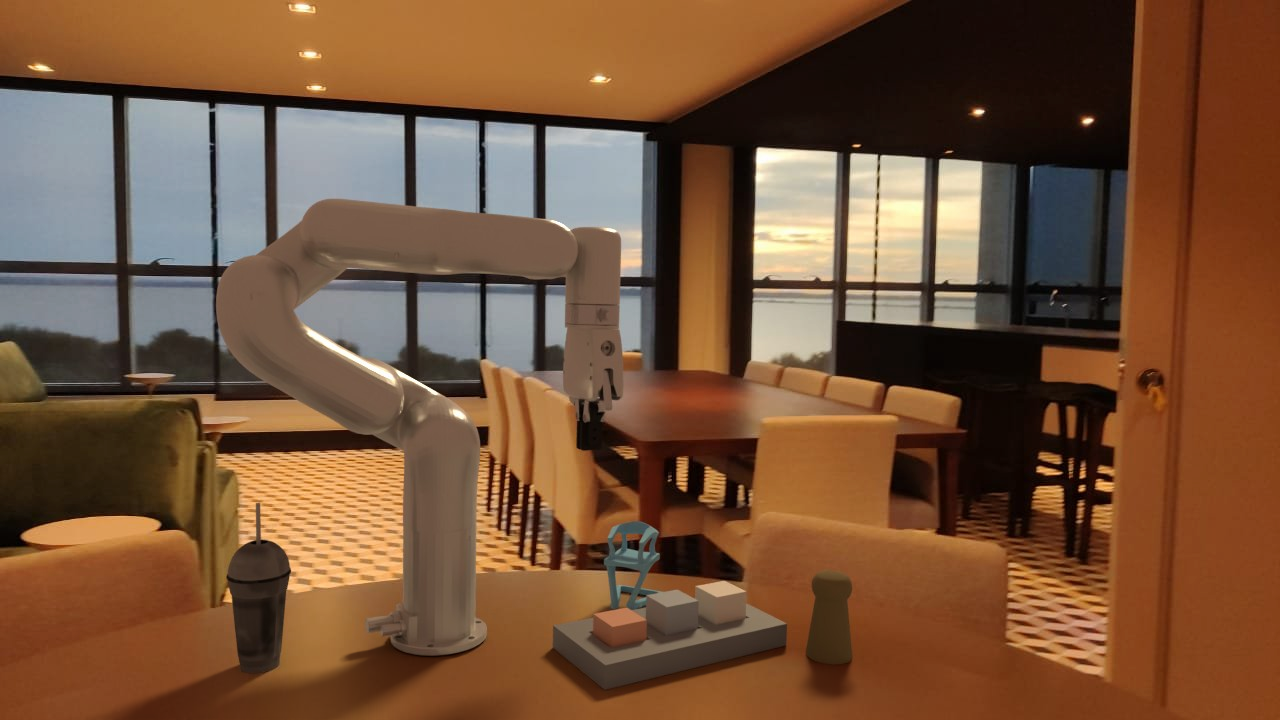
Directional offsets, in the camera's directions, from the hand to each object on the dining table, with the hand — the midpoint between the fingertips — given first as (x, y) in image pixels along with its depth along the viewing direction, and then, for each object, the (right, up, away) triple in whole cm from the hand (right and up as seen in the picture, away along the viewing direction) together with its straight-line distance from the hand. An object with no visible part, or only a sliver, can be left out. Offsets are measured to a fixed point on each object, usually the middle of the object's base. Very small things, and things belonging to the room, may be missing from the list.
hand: (589, 448), depth 122 cm
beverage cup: (-40, -25, -15) cm, 49 cm away
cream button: (+18, -23, -2) cm, 29 cm away
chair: (+6, -25, +11) cm, 27 cm away
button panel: (+11, -26, -6) cm, 29 cm away
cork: (+32, -27, -7) cm, 42 cm away
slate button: (+11, -23, -6) cm, 26 cm away
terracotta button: (+4, -24, -10) cm, 27 cm away
